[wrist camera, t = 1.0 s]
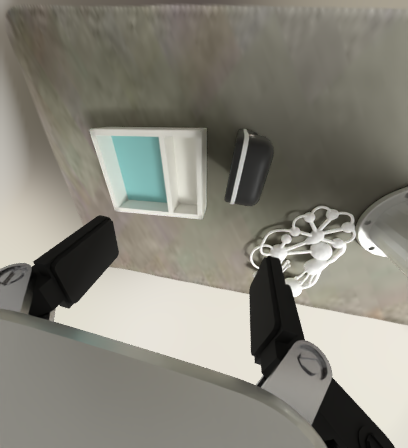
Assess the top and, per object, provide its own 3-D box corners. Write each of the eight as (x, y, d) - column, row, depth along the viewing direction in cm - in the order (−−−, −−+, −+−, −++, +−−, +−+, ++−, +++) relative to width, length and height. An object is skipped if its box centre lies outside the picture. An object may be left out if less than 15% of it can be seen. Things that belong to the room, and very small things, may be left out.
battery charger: (252, 179, 27) (258, 215, 18) (229, 175, 28) (222, 208, 18) (266, 130, 24) (283, 143, 14) (239, 126, 24) (236, 136, 14)
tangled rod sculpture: (299, 185, 28) (305, 193, 25) (376, 227, 28) (394, 241, 25) (238, 260, 38) (237, 273, 35) (295, 290, 39) (299, 306, 35)
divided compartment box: (206, 127, 25) (201, 130, 21) (206, 208, 32) (202, 219, 28) (107, 126, 27) (88, 128, 24) (127, 201, 34) (115, 211, 31)
